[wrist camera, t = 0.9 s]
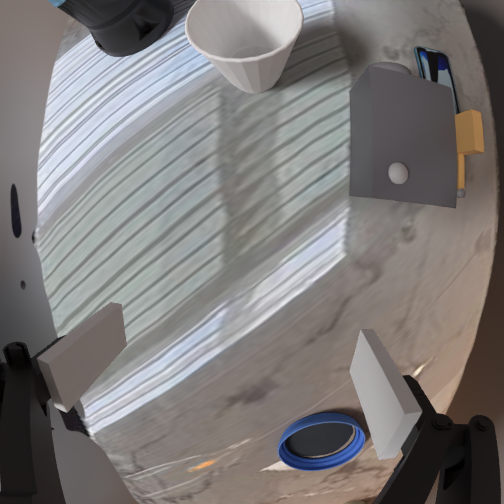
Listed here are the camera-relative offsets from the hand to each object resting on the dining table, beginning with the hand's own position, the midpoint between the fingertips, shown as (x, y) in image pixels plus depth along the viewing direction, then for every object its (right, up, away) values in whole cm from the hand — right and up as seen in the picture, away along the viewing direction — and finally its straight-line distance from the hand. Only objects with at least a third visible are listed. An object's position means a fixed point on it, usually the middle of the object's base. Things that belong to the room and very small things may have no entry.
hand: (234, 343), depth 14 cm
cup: (+1, +31, +21) cm, 38 cm away
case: (+21, +21, +22) cm, 37 cm away
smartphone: (+32, +32, +19) cm, 49 cm away
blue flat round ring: (+15, -34, +34) cm, 51 cm away
